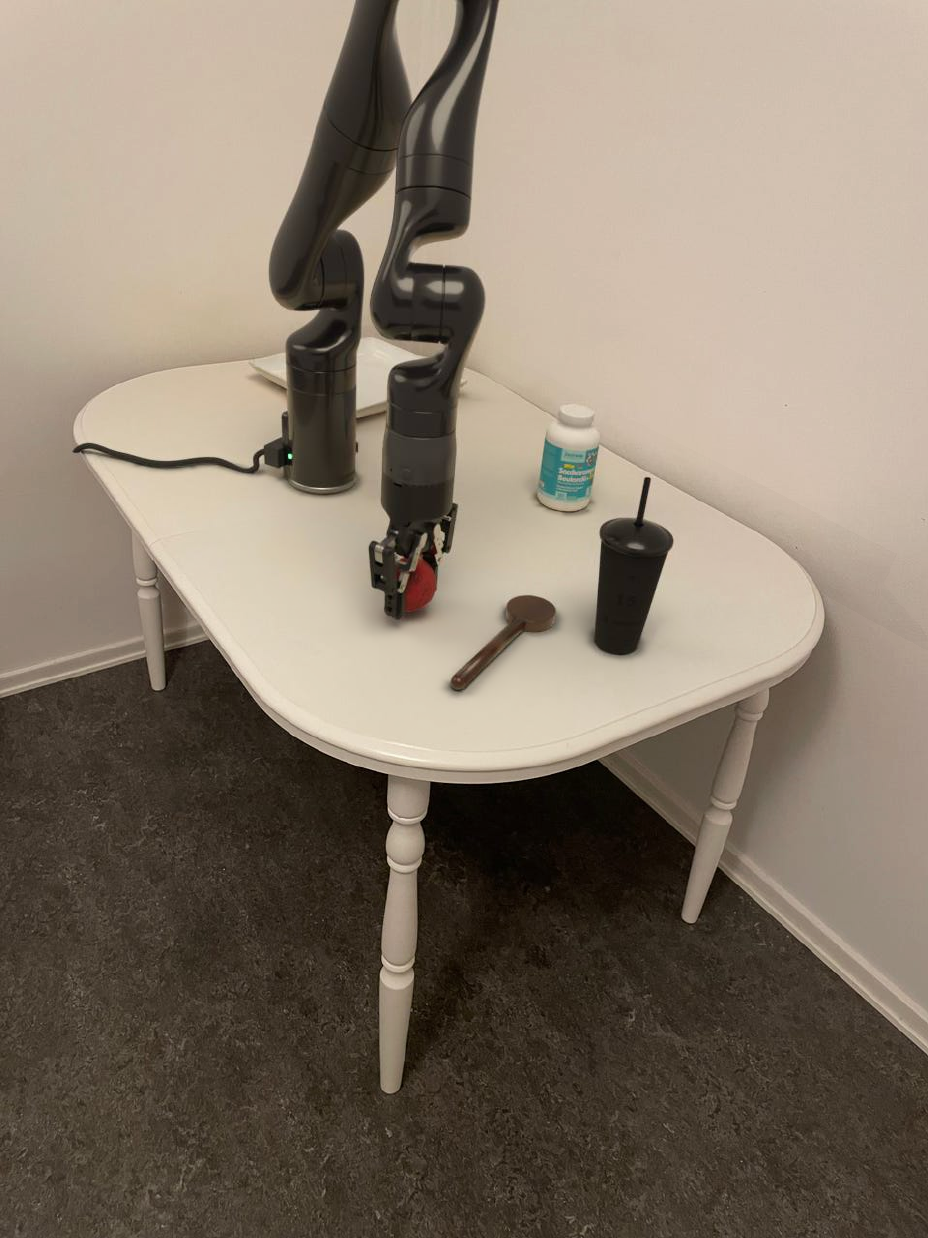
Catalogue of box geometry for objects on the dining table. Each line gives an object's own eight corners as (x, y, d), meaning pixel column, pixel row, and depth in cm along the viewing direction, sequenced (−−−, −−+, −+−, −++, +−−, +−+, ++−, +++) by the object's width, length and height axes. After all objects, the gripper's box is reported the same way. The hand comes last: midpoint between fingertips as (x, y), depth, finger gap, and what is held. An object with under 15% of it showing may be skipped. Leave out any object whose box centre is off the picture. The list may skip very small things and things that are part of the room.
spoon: (430, 682, 98) (431, 669, 97) (519, 599, 113) (521, 588, 112) (477, 702, 96) (479, 689, 95) (562, 615, 111) (564, 604, 110)
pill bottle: (554, 517, 131) (567, 423, 124) (526, 494, 136) (538, 403, 129) (599, 508, 134) (615, 417, 127) (571, 486, 139) (584, 397, 132)
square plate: (246, 380, 165) (245, 358, 163) (371, 353, 181) (372, 333, 179) (341, 433, 149) (341, 409, 147) (469, 398, 166) (471, 377, 163)
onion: (423, 632, 106) (437, 575, 101) (373, 618, 106) (384, 560, 101) (433, 602, 111) (447, 546, 106) (386, 589, 111) (397, 532, 106)
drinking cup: (575, 622, 110) (602, 461, 98) (640, 623, 110) (674, 463, 99) (588, 662, 103) (618, 494, 92) (657, 663, 104) (695, 496, 93)
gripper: (426, 434, 105) (418, 566, 114) (346, 479, 94) (345, 620, 104) (485, 453, 102) (472, 587, 111) (410, 501, 91) (402, 645, 101)
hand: (410, 602), depth 108 cm, fingers closed on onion, 6 cm apart
